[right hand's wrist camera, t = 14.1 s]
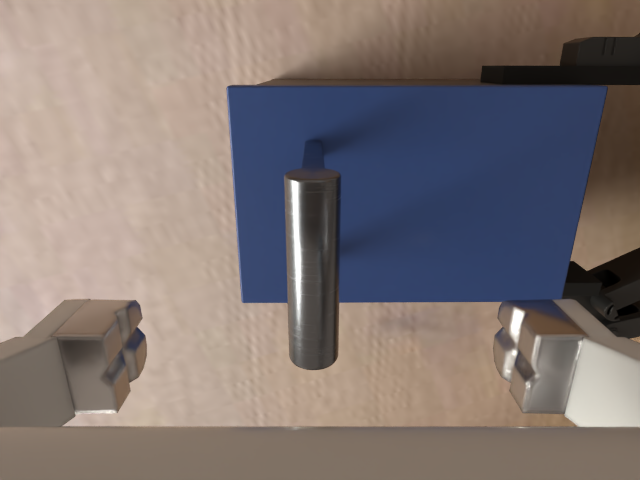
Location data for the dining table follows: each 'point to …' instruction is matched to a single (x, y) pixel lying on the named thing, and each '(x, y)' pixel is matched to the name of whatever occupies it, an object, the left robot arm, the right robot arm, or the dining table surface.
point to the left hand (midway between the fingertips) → (477, 185)
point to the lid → (405, 196)
